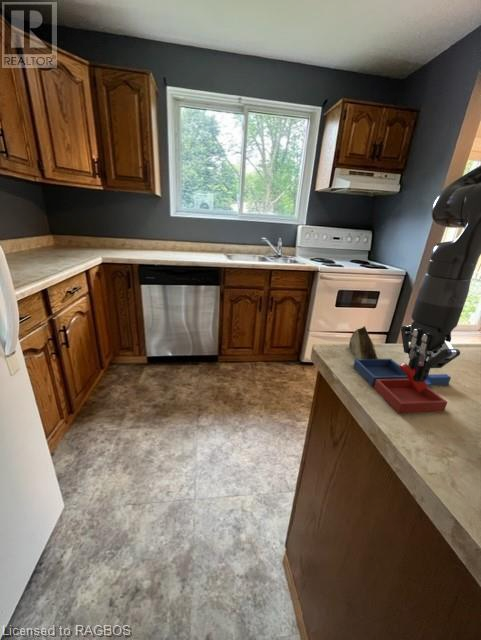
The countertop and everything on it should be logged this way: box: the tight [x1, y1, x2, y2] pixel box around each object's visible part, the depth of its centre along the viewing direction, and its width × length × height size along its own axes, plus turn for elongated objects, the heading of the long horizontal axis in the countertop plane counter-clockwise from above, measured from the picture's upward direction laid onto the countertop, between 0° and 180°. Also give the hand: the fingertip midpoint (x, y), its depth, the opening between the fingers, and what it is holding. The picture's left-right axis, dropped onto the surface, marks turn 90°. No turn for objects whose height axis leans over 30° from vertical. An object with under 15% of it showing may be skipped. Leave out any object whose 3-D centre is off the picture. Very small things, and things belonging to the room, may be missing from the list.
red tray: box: [373, 379, 448, 414], centre depth 59 cm, size 10×9×2 cm
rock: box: [348, 325, 379, 359], centre depth 76 cm, size 11×9×10 cm
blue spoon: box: [425, 373, 452, 388], centre depth 65 cm, size 8×3×2 cm, turn 96°
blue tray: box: [353, 358, 408, 387], centre depth 68 cm, size 10×9×2 cm
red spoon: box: [398, 362, 428, 392], centre depth 57 cm, size 8×3×2 cm
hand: (415, 378), depth 57 cm, fingers closed on red spoon, 1 cm apart
